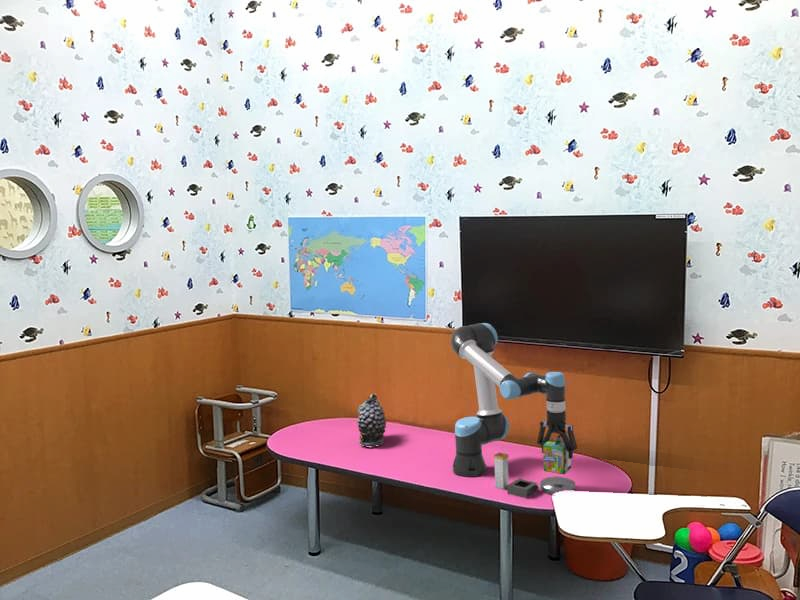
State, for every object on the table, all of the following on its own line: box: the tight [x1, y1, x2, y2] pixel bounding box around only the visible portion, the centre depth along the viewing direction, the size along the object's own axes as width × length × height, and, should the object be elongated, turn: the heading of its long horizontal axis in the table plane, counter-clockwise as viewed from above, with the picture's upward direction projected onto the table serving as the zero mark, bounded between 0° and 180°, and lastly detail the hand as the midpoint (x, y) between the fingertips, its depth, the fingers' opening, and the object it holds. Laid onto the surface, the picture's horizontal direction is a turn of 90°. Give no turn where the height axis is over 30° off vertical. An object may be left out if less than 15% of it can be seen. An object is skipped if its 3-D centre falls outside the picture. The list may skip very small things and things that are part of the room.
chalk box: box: [542, 434, 572, 476], centre depth 284 cm, size 9×9×15 cm
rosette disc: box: [539, 476, 576, 496], centre depth 286 cm, size 14×14×2 cm
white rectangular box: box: [493, 452, 510, 490], centre depth 290 cm, size 4×4×14 cm
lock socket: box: [506, 478, 539, 499], centre depth 284 cm, size 9×9×4 cm
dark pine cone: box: [356, 392, 387, 446], centre depth 355 cm, size 21×15×25 cm
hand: (557, 463), depth 285 cm, fingers closed on chalk box, 9 cm apart
